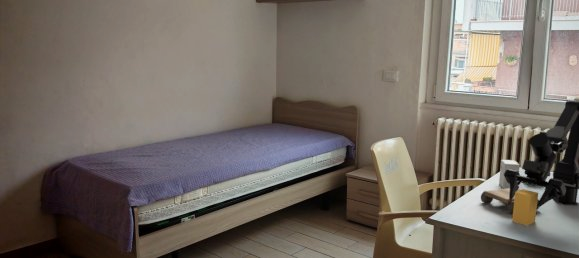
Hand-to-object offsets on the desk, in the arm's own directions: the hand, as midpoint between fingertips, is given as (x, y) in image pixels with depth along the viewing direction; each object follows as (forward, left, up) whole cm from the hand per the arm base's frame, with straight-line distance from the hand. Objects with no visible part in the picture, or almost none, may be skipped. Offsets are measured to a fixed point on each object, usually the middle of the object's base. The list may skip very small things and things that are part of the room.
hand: (523, 202), depth 163 cm
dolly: (-4, -16, -7) cm, 18 cm away
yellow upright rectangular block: (-1, -1, -7) cm, 7 cm away
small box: (-16, -41, -7) cm, 44 cm away
